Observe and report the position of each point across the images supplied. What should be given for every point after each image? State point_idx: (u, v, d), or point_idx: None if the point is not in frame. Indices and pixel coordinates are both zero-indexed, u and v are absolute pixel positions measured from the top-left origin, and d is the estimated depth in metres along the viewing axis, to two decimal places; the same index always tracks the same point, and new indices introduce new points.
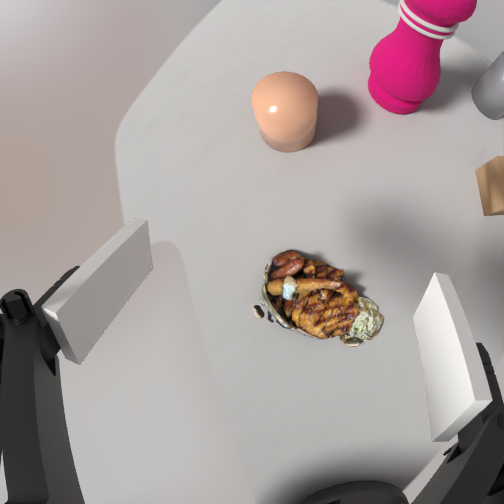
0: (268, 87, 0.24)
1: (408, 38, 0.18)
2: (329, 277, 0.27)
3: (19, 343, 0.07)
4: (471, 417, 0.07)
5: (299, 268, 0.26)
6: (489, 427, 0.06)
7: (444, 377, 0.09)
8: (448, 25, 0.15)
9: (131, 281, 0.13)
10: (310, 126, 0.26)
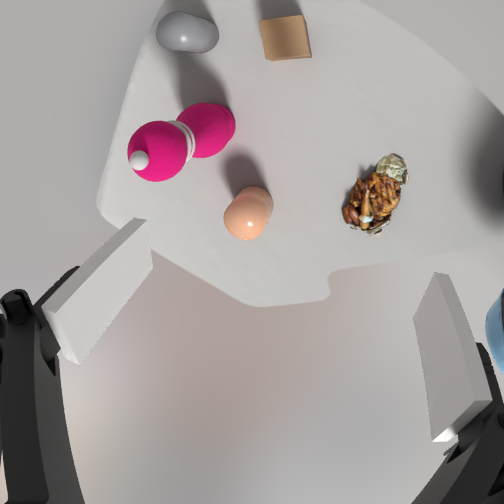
0: (236, 229, 0.42)
1: None
2: (362, 191, 0.40)
3: (19, 343, 0.07)
4: (471, 417, 0.07)
5: (354, 211, 0.41)
6: (489, 427, 0.06)
7: (444, 377, 0.09)
8: (183, 136, 0.29)
9: (131, 281, 0.13)
10: (260, 200, 0.42)
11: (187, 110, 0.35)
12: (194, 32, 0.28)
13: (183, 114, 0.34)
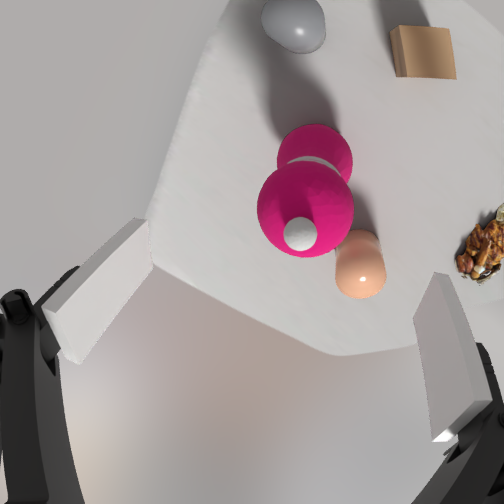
0: (350, 287, 0.33)
1: None
2: (481, 240, 0.31)
3: (19, 343, 0.07)
4: (471, 417, 0.07)
5: (472, 261, 0.31)
6: (489, 427, 0.06)
7: (444, 377, 0.09)
8: None
9: (131, 281, 0.13)
10: (378, 251, 0.32)
11: (304, 135, 0.25)
12: (323, 25, 0.19)
13: (300, 141, 0.25)
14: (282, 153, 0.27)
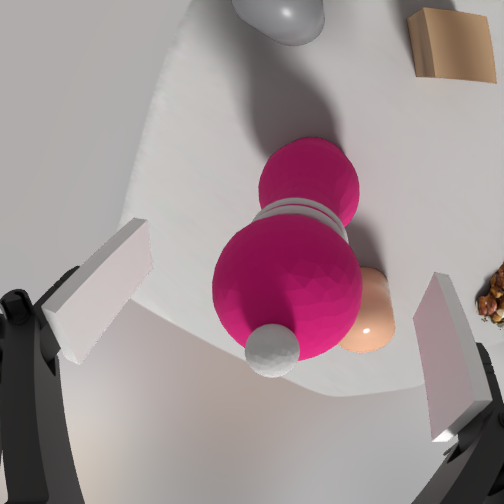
0: (350, 341, 0.26)
1: None
2: None
3: (19, 343, 0.07)
4: (471, 417, 0.07)
5: (496, 304, 0.25)
6: (489, 427, 0.06)
7: (444, 377, 0.09)
8: None
9: (131, 281, 0.13)
10: (386, 298, 0.26)
11: (294, 157, 0.19)
12: (320, 1, 0.12)
13: (288, 166, 0.18)
14: (263, 181, 0.20)
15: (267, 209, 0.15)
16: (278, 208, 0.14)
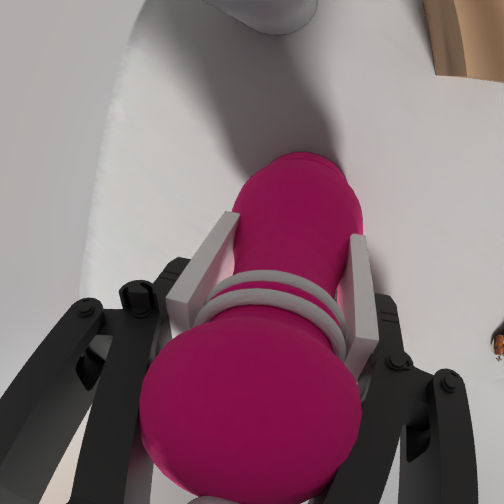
0: None
1: None
2: None
3: (133, 339, 0.08)
4: (363, 359, 0.09)
5: None
6: (377, 374, 0.08)
7: None
8: (328, 345, 0.09)
9: (227, 273, 0.14)
10: None
11: (274, 188, 0.14)
12: None
13: (266, 201, 0.14)
14: None
15: (225, 286, 0.10)
16: (237, 293, 0.09)
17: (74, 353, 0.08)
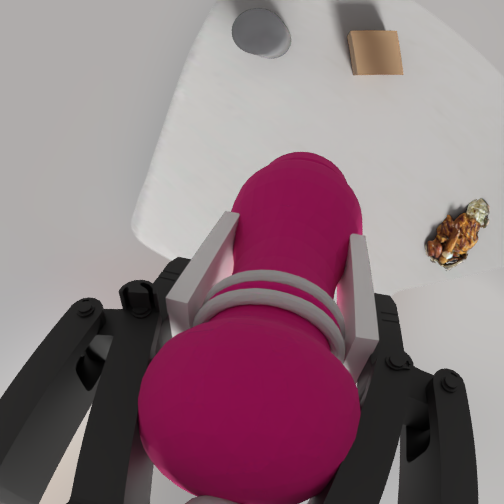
0: None
1: None
2: (450, 229, 0.37)
3: (133, 339, 0.08)
4: (363, 359, 0.09)
5: (441, 247, 0.38)
6: (377, 374, 0.08)
7: None
8: (327, 345, 0.09)
9: (227, 273, 0.14)
10: None
11: (273, 188, 0.14)
12: (282, 35, 0.24)
13: (265, 201, 0.14)
14: None
15: (223, 286, 0.10)
16: (236, 293, 0.09)
17: (74, 353, 0.08)
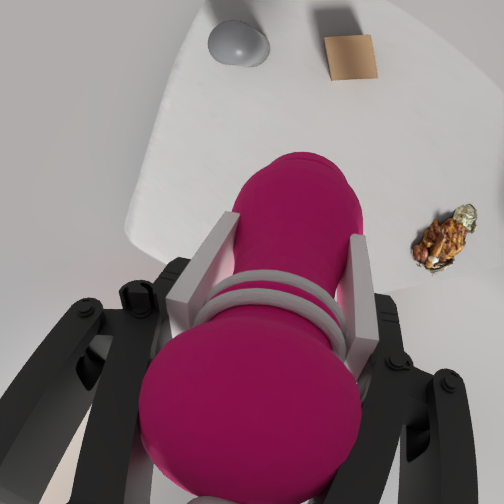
0: None
1: None
2: (437, 234, 0.38)
3: (133, 339, 0.08)
4: (363, 359, 0.09)
5: (427, 251, 0.39)
6: (377, 374, 0.08)
7: None
8: (328, 345, 0.09)
9: (227, 273, 0.14)
10: None
11: (274, 188, 0.14)
12: (255, 46, 0.26)
13: (266, 201, 0.14)
14: None
15: (224, 286, 0.10)
16: (237, 293, 0.09)
17: (74, 353, 0.08)
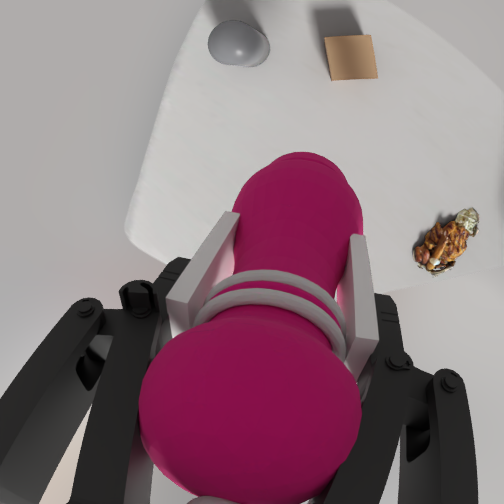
0: None
1: None
2: (439, 236, 0.38)
3: (133, 339, 0.08)
4: (363, 359, 0.09)
5: (429, 253, 0.39)
6: (377, 374, 0.08)
7: None
8: (328, 345, 0.09)
9: (227, 273, 0.14)
10: None
11: (274, 188, 0.14)
12: (255, 46, 0.26)
13: (266, 201, 0.14)
14: None
15: (224, 286, 0.10)
16: (237, 293, 0.09)
17: (74, 353, 0.08)
